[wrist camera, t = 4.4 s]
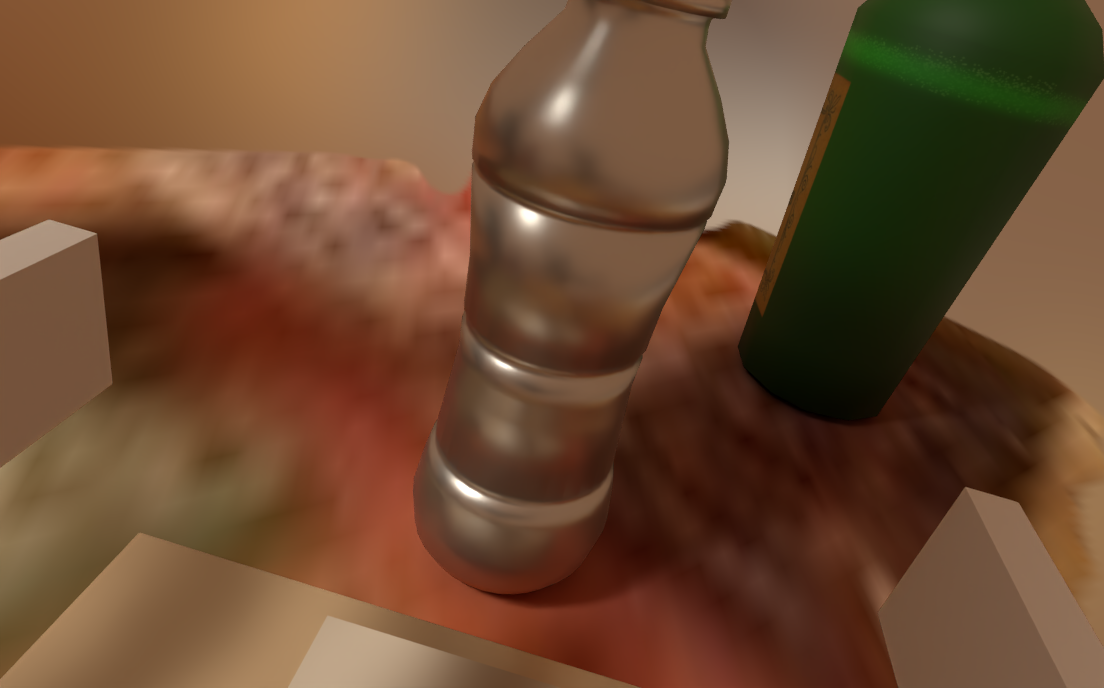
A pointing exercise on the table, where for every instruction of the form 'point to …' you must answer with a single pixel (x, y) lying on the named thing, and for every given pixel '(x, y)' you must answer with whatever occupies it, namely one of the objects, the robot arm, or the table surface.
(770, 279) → the bottle
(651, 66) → the plastic bottle
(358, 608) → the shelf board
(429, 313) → the table surface
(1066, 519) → the table surface
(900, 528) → the table surface
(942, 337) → the table surface
